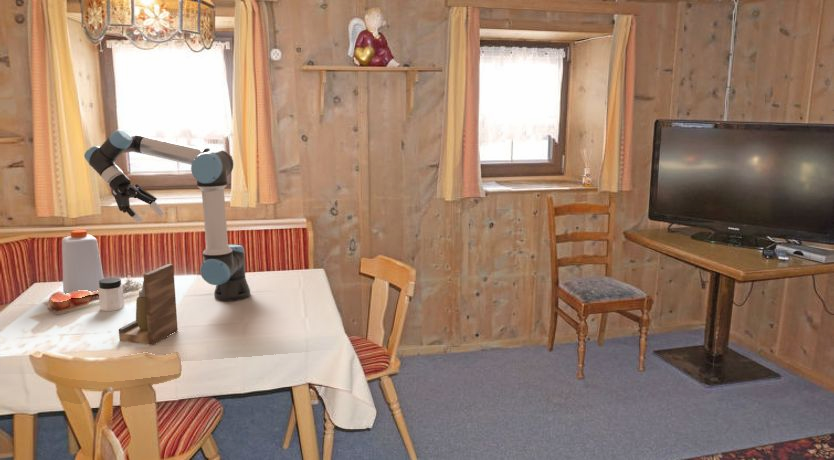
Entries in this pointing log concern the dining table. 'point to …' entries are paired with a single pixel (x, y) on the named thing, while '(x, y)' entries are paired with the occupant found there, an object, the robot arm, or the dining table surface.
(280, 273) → the dining table surface
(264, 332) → the dining table surface
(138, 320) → the squeeze bottle
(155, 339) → the wooden bookend
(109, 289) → the jar
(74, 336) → the dining table surface
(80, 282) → the plastic bottle
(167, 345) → the dining table surface
